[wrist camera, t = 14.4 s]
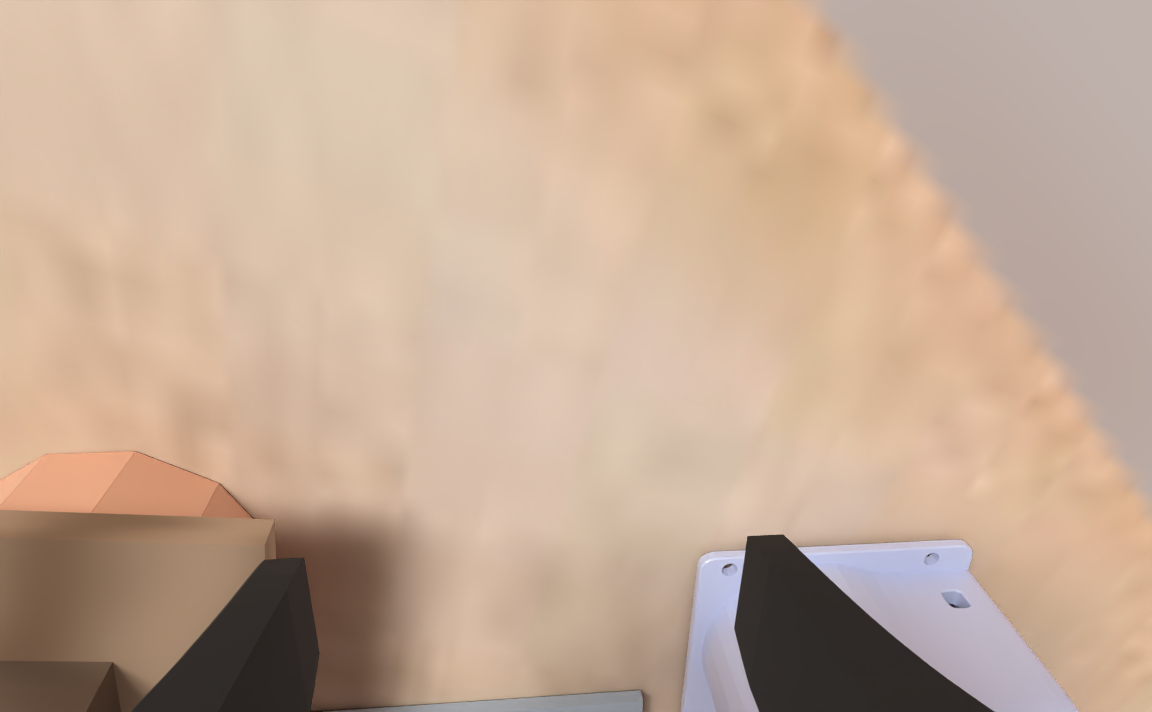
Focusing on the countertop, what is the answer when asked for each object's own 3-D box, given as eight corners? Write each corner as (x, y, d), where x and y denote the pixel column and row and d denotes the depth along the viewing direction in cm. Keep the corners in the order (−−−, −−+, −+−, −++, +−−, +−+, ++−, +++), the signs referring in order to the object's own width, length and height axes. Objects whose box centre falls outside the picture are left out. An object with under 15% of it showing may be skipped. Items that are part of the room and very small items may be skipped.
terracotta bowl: (254, 447, 23) (212, 535, 20) (296, 671, 27) (266, 779, 23) (-81, 458, 22) (-189, 554, 19) (13, 689, 26) (-62, 804, 23)
